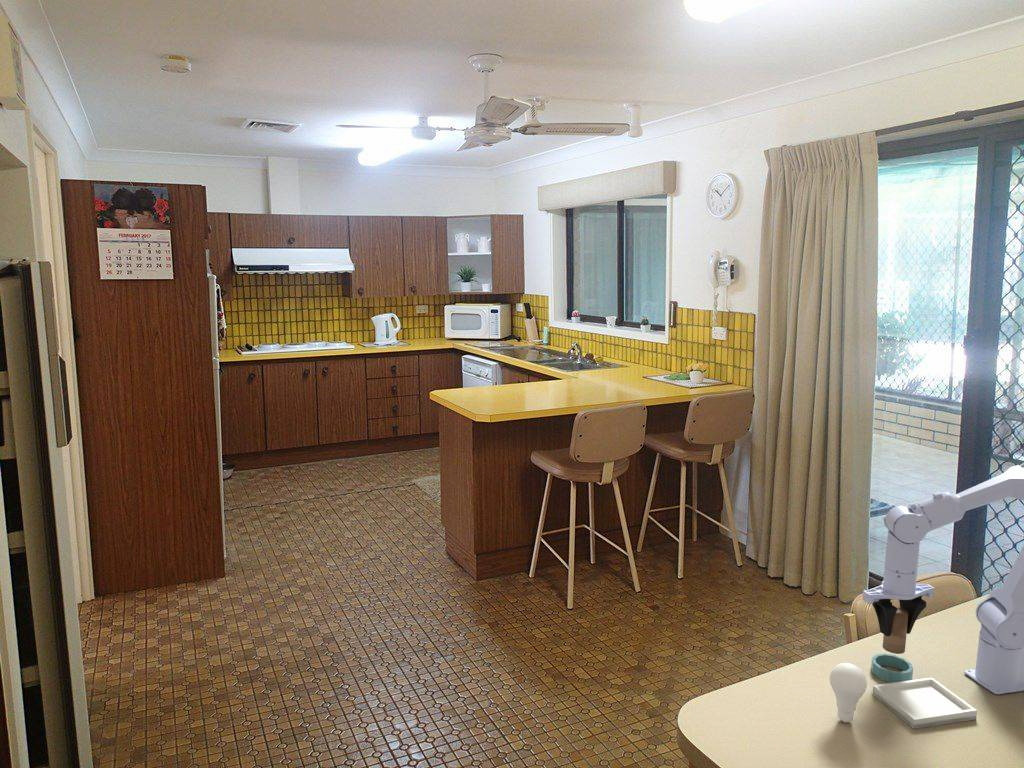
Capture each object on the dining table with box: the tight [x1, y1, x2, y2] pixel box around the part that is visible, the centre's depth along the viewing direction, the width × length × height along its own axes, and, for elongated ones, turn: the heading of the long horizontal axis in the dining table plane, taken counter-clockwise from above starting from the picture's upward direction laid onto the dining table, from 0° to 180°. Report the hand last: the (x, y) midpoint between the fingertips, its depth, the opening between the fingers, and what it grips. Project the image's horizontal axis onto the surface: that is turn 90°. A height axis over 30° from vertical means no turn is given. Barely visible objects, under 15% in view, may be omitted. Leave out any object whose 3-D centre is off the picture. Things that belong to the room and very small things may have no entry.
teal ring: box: [870, 653, 914, 683], centre depth 152 cm, size 7×7×2 cm
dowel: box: [882, 606, 908, 655], centre depth 150 cm, size 4×4×8 cm
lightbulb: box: [829, 662, 868, 723], centre depth 135 cm, size 6×6×11 cm
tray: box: [871, 677, 978, 730], centre depth 141 cm, size 13×11×2 cm
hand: (895, 632), depth 150 cm, fingers closed on dowel, 4 cm apart
